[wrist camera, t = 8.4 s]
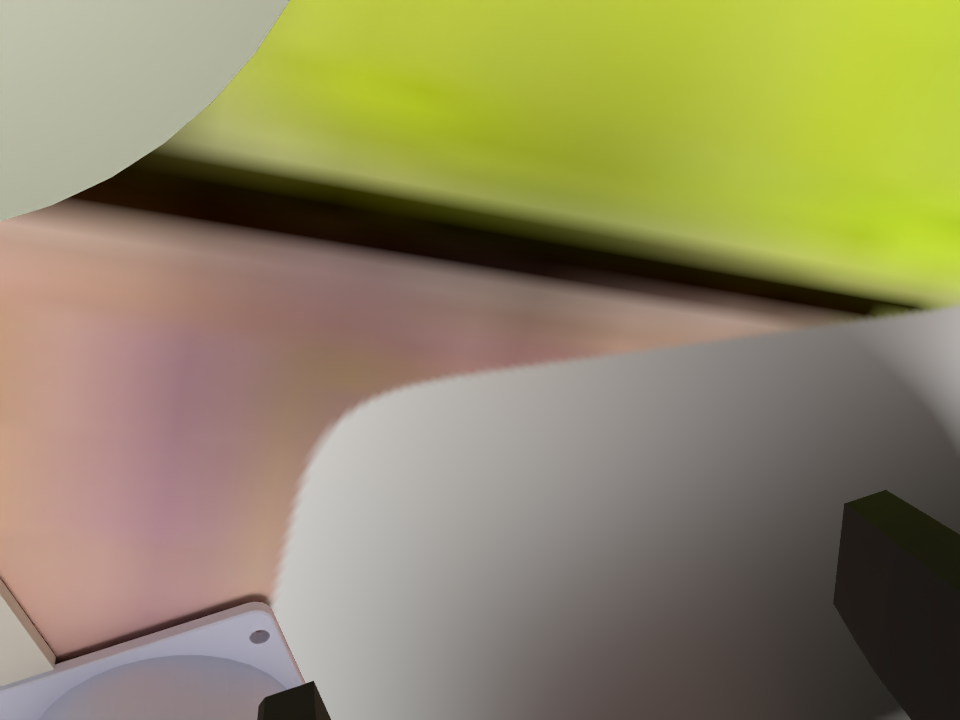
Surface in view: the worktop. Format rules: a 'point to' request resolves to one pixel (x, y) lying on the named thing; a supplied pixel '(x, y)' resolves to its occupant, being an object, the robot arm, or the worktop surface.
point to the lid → (109, 84)
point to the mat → (20, 643)
